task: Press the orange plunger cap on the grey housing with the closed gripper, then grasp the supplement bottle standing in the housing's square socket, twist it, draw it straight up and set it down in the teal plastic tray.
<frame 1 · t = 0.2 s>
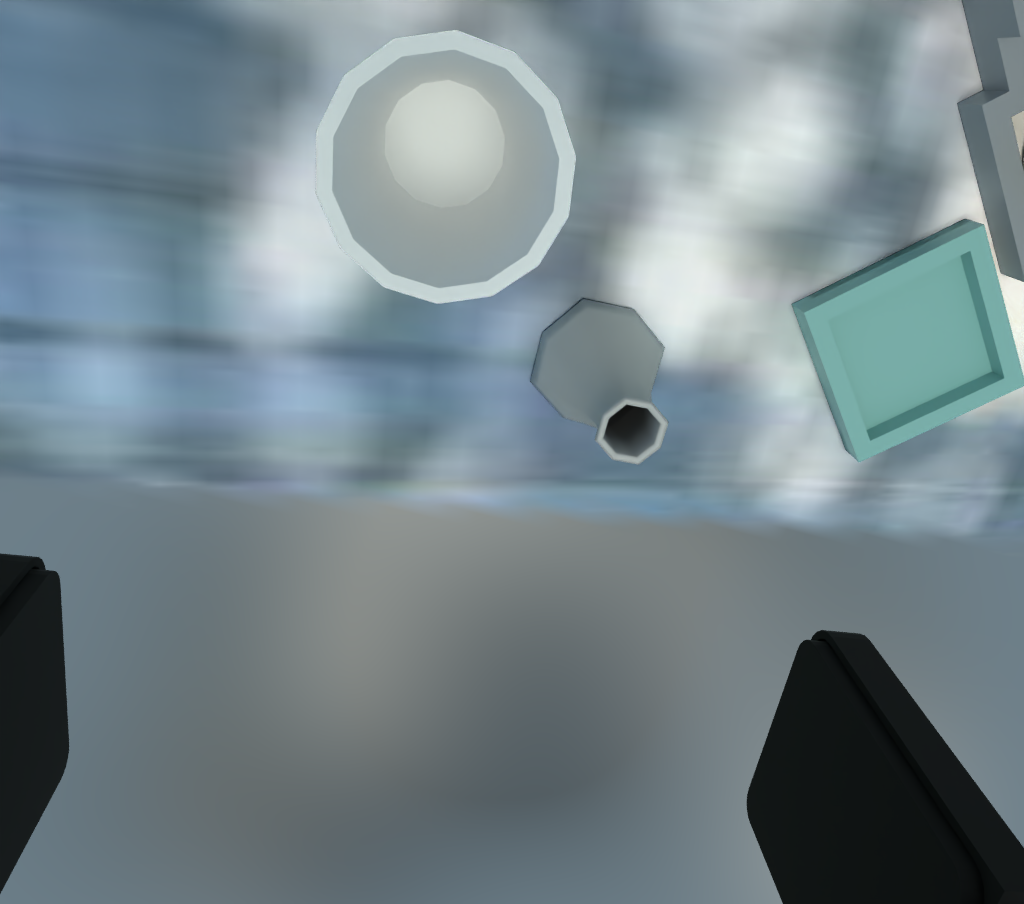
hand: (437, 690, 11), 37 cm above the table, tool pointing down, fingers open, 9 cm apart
tray: (902, 340, 49), on the table
foam cup: (444, 144, 43), on the table
flask: (595, 362, 49), on the table
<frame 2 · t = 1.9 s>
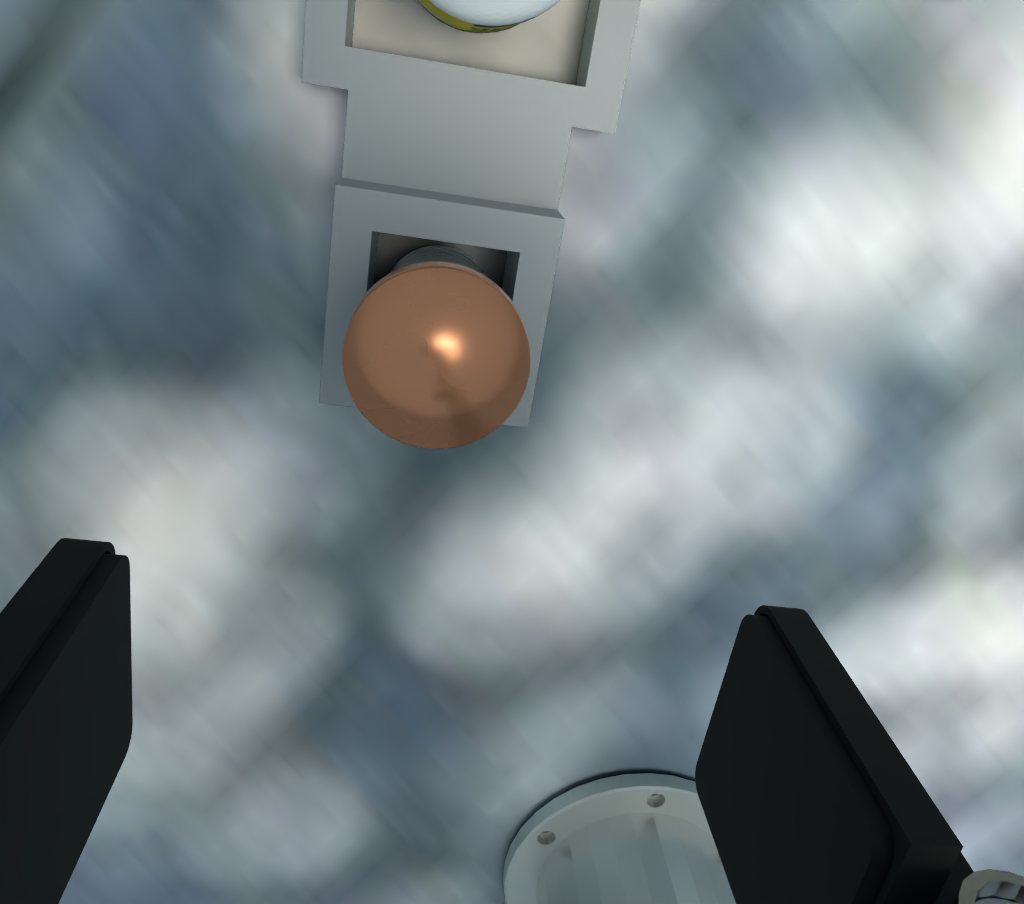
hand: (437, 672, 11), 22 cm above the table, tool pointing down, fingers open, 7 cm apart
housing: (460, 108, 29), on the table
plunger: (437, 327, 26), point 6 cm above the table, slide at 0.0 cm
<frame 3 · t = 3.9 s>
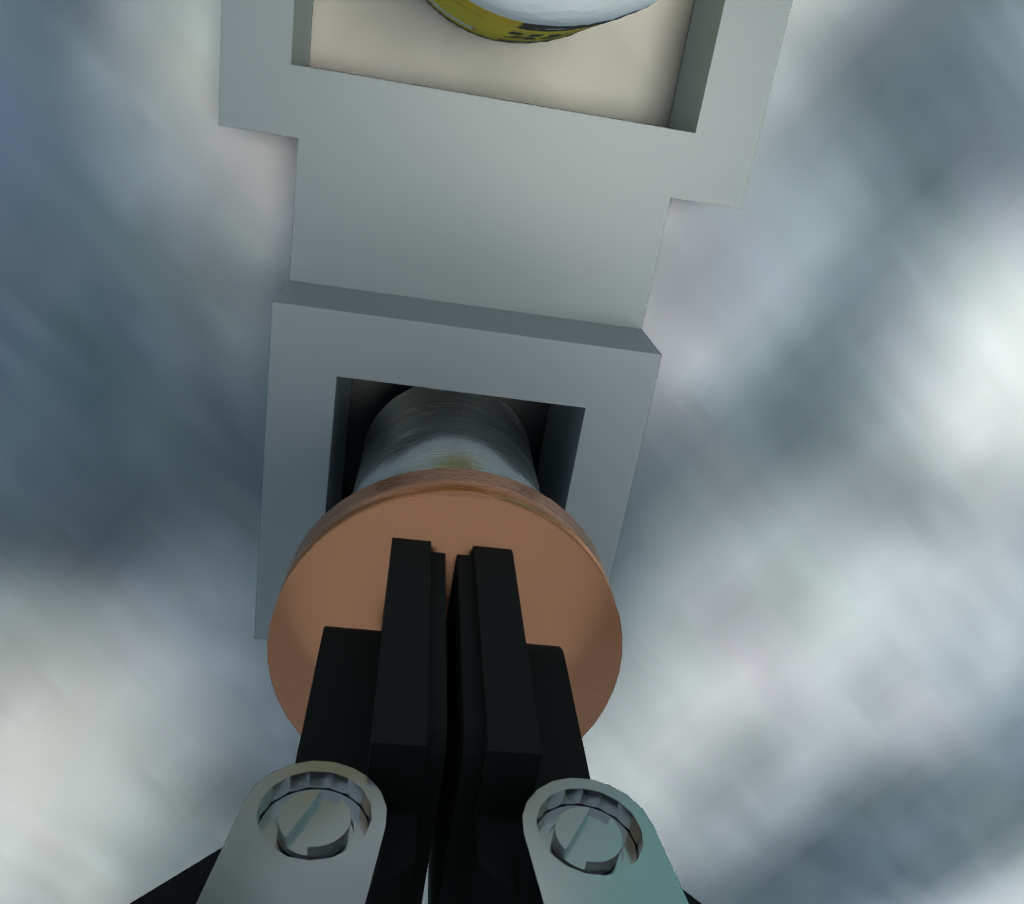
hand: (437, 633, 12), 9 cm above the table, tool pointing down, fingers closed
housing: (483, 163, 18), on the table
plunger: (447, 538, 16), point 5 cm above the table, slide at -0.1 cm, touching gripper
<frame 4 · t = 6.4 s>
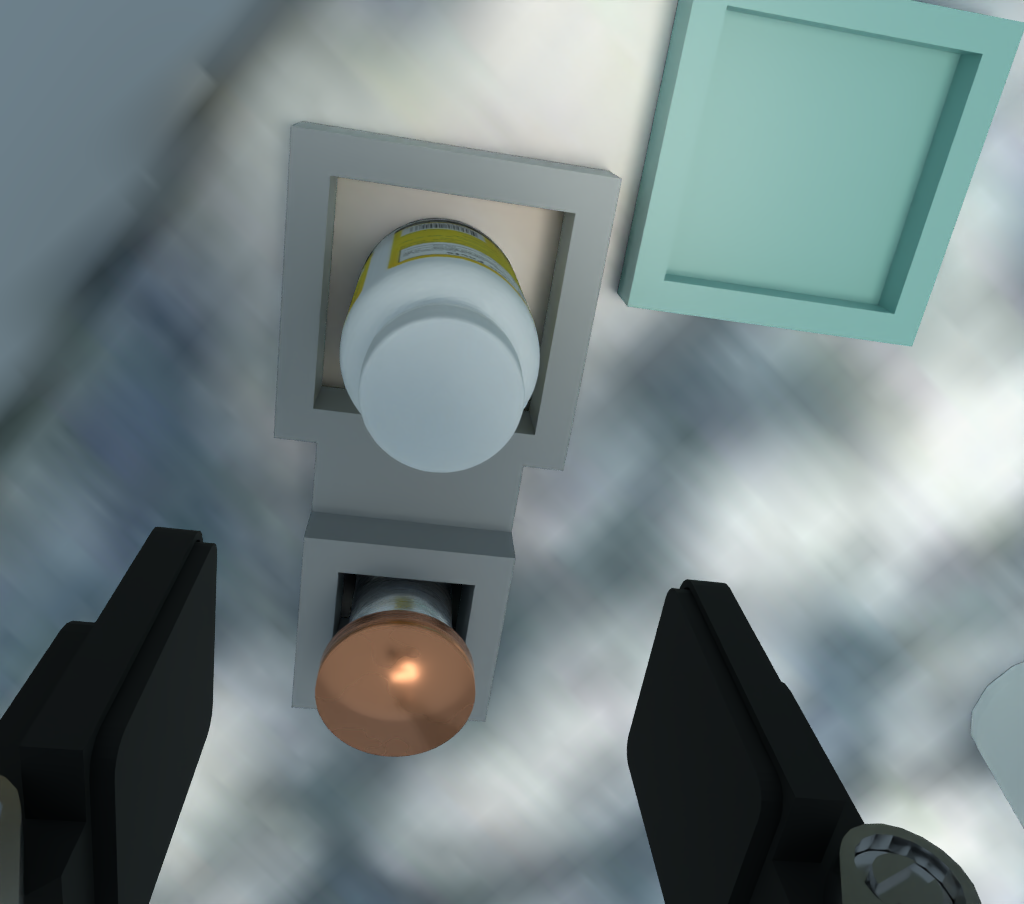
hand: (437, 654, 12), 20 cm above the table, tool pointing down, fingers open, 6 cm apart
housing: (422, 432, 31), on the table
tray: (795, 165, 29), on the table
supplement bottle: (439, 295, 30), resting in housing
plunger: (400, 629, 31), point 4 cm above the table, slide at -1.9 cm
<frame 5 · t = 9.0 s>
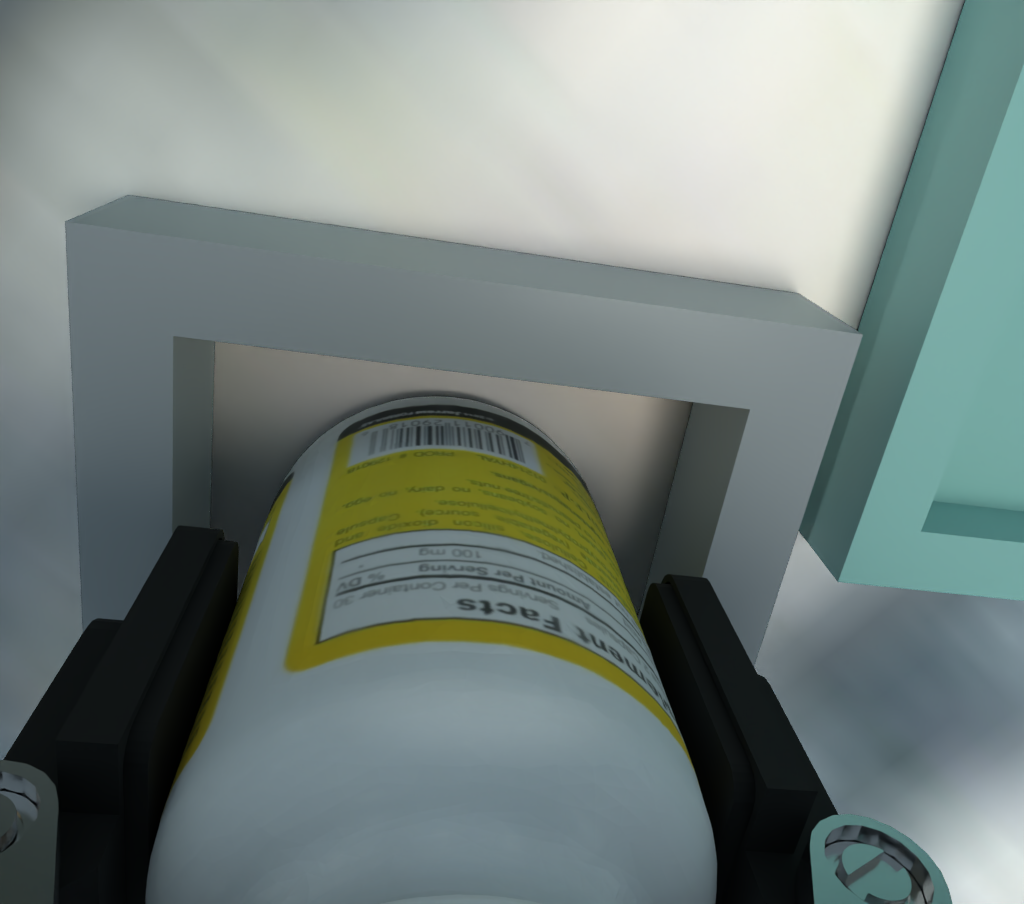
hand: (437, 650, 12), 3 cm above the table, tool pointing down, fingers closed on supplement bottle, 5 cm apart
housing: (405, 768, 16), on the table
supplement bottle: (438, 533, 15), resting in housing, touching gripper
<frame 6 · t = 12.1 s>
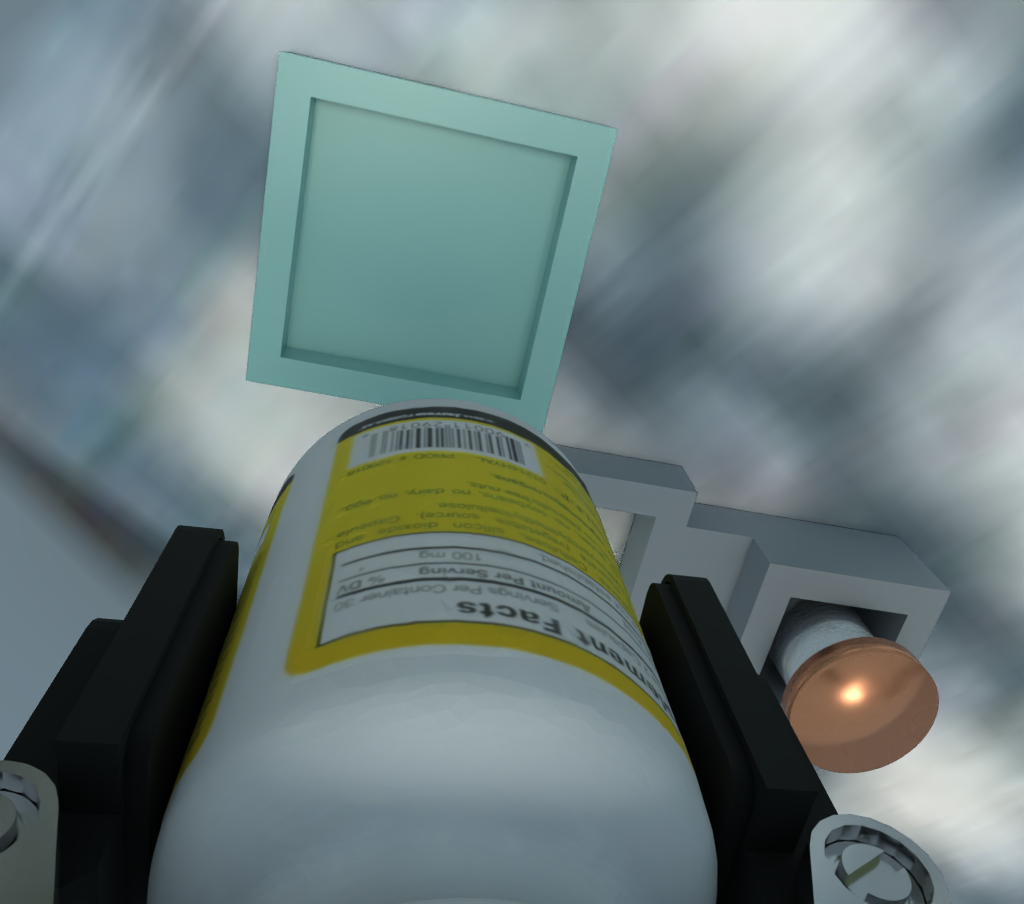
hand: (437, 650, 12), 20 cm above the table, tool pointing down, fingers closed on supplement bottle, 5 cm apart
housing: (649, 576, 35), on the table
tray: (424, 249, 29), on the table
supplement bottle: (438, 534, 15), point 16 cm above the table, touching gripper
plunger: (823, 652, 32), point 4 cm above the table, slide at -1.9 cm
when the fingers open (5 cm above the table, at t = 15.4 s): supplement bottle drops 1 cm, resting on tray.
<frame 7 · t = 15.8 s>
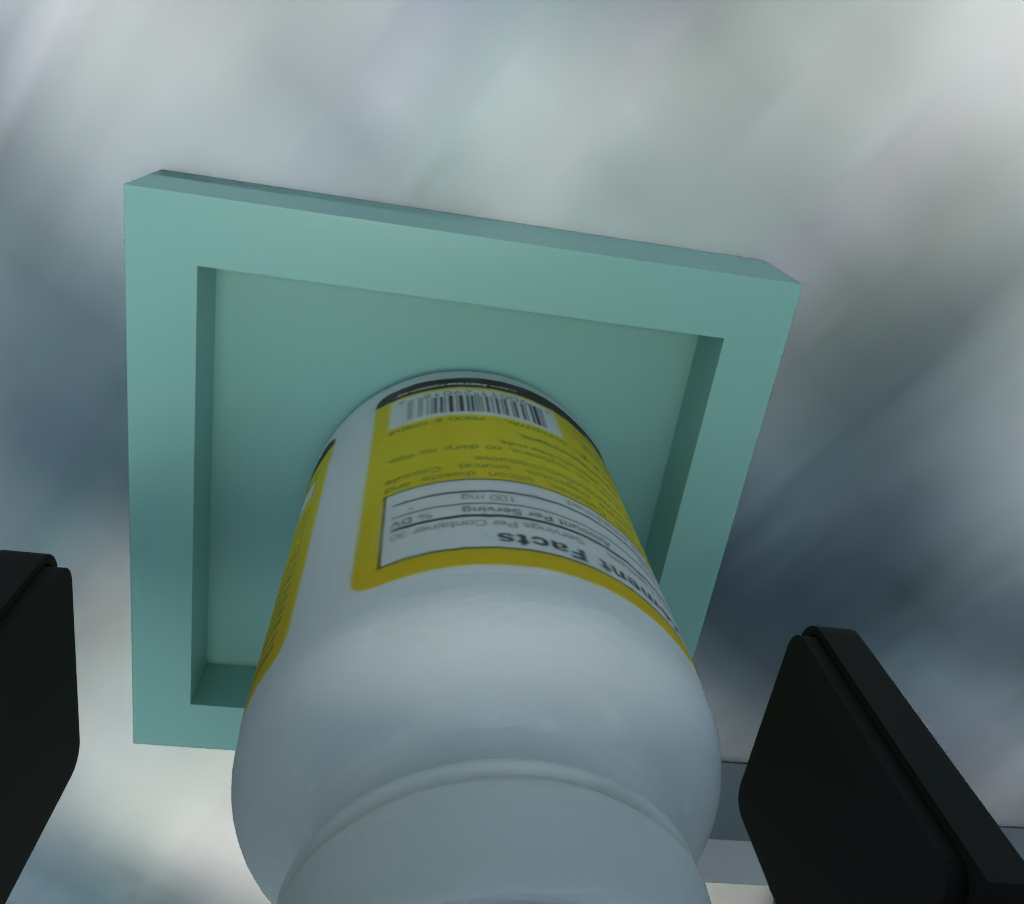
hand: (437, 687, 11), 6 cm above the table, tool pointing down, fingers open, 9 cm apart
tray: (438, 487, 16), on the table
supplement bottle: (462, 499, 16), resting on tray
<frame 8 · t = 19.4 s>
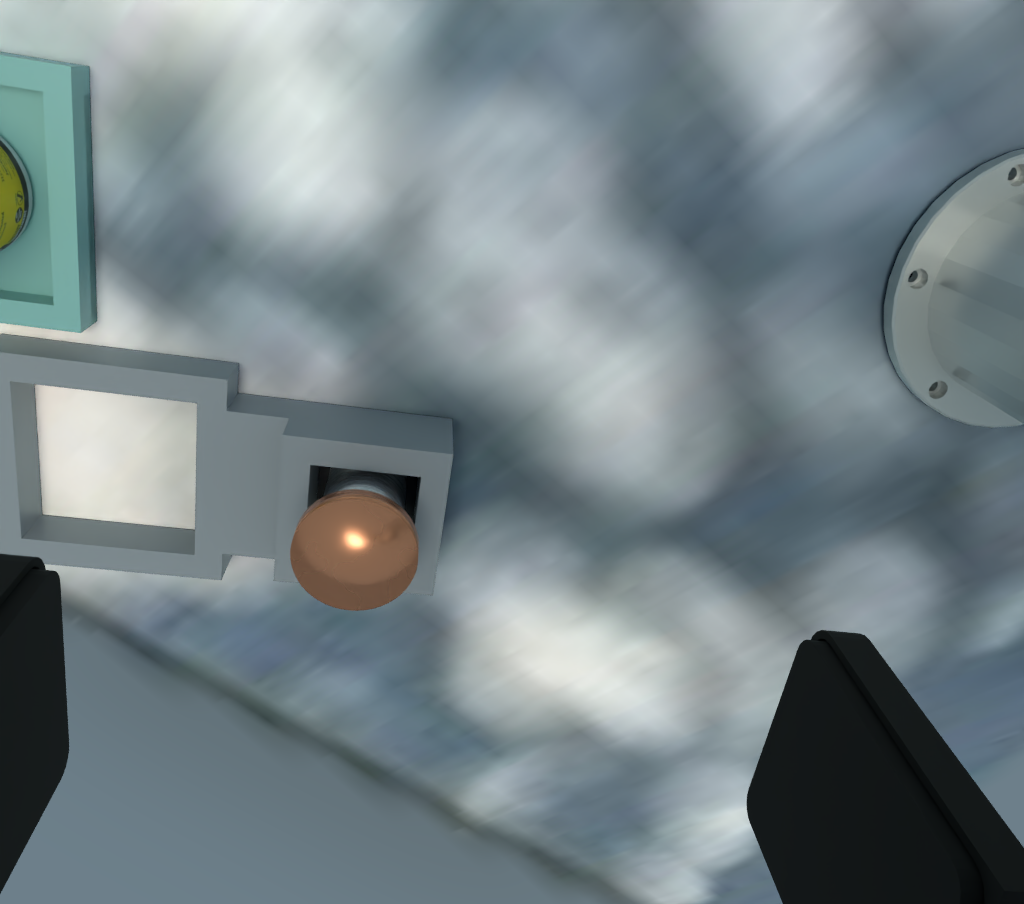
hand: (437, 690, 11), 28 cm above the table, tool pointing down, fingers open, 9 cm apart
housing: (237, 464, 40), on the table
plunger: (362, 515, 38), point 4 cm above the table, slide at -1.9 cm
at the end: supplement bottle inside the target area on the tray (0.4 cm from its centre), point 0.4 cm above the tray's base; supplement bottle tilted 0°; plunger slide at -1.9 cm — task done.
